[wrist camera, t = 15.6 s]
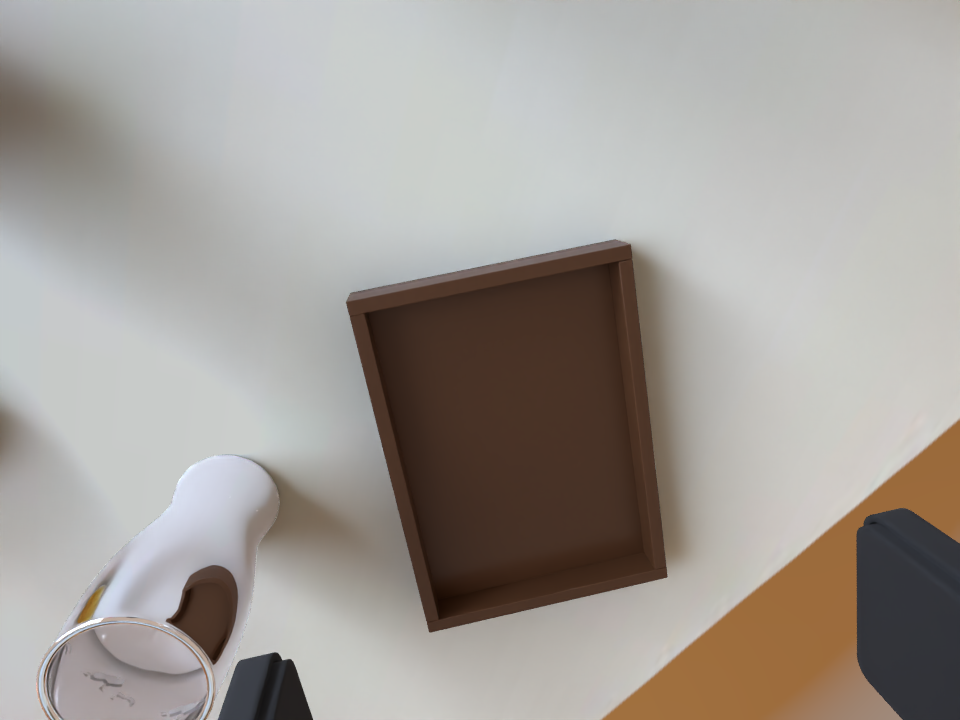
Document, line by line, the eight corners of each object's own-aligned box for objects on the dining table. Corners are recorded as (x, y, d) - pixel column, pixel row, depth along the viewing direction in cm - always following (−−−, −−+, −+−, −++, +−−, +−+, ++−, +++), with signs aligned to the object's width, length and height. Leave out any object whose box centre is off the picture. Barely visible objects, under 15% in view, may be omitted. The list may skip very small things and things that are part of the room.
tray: (349, 292, 36) (346, 302, 34) (616, 239, 37) (631, 244, 35) (427, 606, 43) (429, 632, 40) (653, 554, 44) (667, 577, 41)
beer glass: (265, 563, 41) (190, 777, 26) (153, 530, 39) (9, 737, 25) (303, 469, 39) (244, 641, 25) (188, 430, 38) (55, 591, 23)
